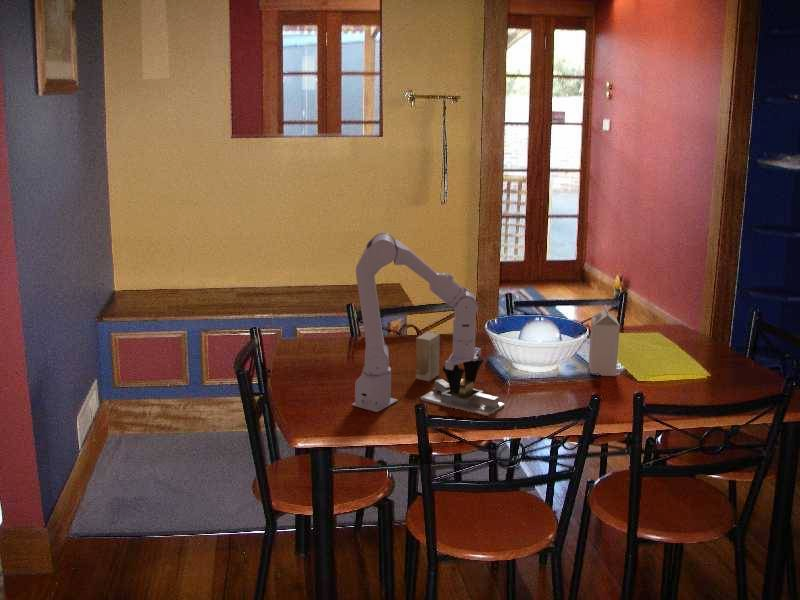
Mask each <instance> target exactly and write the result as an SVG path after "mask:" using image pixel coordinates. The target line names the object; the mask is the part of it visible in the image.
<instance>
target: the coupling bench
mask: <svg viewBox="0 0 800 600" xmlns="http://www.w3.org/2000/svg"><path fill="white" fill-rule="evenodd" d="M499 399H500V398H499V396H496V395H495V396H494V395H491V394H487V393H484V390H480V389H477V388H473V395H472V396H471V397H469V398H467V399H466V398H462V397H458V396H454V395H452V393H451V391H450V387H449V383H448V381H446V380H445V379H443V378H441V379H440V378H439V379H435V380H434V387H433V388H432V390H431V391H429V392H427V393H426V394H424V395H422V396H420V401H423V402H427V403H431V404H436V405H438V406H443V407H446V408H450V407H451V409H453V408H455V410H457V409H461V410H465V411H470V412H474V413H478V414H484V415H489V414H490V413H492V412H494V411H496V410H498V409H499V408H501V407H503V406H504V405H506V403H503V402H501V401H499ZM504 407H505V406H504ZM504 407H503V408H504ZM501 409H502V408H501ZM461 410H460V411H461ZM465 411H464V412H465ZM498 411H499V410H498ZM496 412H497V411H496Z"/></svg>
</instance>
